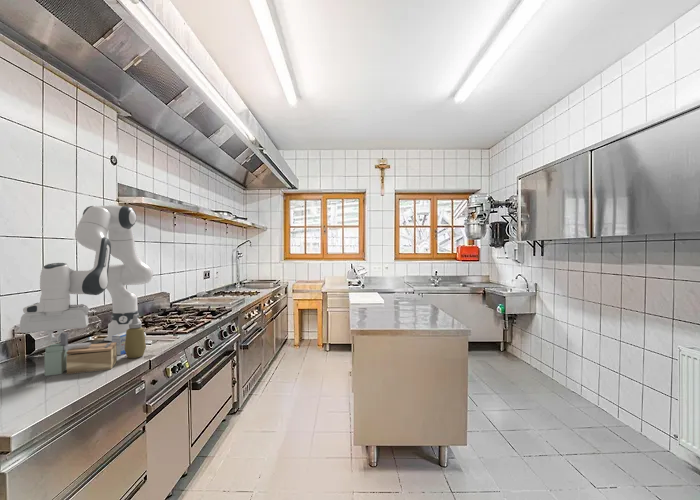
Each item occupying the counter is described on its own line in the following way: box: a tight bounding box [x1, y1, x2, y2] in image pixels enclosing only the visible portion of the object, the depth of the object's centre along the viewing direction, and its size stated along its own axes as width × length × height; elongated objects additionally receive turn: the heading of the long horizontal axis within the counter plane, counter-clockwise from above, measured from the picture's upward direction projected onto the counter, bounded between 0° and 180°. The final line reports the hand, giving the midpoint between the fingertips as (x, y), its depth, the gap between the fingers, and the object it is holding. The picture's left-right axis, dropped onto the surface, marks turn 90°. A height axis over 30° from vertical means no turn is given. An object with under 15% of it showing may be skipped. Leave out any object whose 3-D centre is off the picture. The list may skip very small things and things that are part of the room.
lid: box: [67, 342, 117, 354], centre depth 138 cm, size 10×14×1 cm
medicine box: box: [111, 332, 126, 356], centre depth 158 cm, size 8×4×9 cm, turn 168°
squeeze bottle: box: [124, 315, 147, 359], centre depth 152 cm, size 8×8×18 cm
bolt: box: [59, 332, 92, 351], centre depth 136 cm, size 3×9×6 cm, turn 113°
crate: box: [66, 345, 118, 375], centre depth 138 cm, size 10×14×7 cm
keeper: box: [44, 343, 69, 377], centre depth 133 cm, size 7×5×10 cm
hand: (55, 341), depth 133 cm, fingers closed
